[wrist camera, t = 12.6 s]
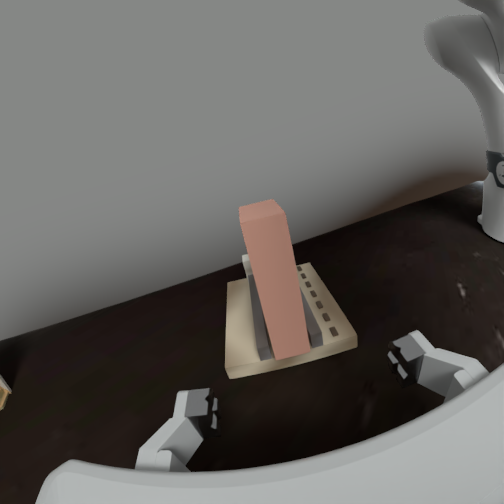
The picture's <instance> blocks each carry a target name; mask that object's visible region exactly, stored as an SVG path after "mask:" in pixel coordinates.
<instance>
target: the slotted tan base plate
mask: <svg viewBox="0 0 504 504" xmlns="http://www.w3.org/2000/svg"><path fill="white" fill-rule="evenodd" d="M242 259H243V265H244V268H245V272H246V276H247V278H245V279H241V280H237V281H233V282H228V289H227V316H226V347H225V369H226V372H227V374H228V376H229V379H233V378H239V377H244V376H249V375H254V374H259V373H264V372H269V371H273V370H277V369H282V368H286V367H290V366H294V365H298V364H302V363H305V362H309V361H313V360H316V359H320V358H323V357H327V356H330V355H333V354H337V353H340V352H343V351H346V350H349V349H352V348H355V347H357V334H356V332H355V331H354V329H353V328H352V326H351V324H350V323H349V321H348V320H347V318H346V317H345V315H344V314H343V312H342V310H341V309H340V307H339V306H338V304H337V303H336V301H335V300H334V298H333V297H332V295H331V294H330V292H329V291H328V289H327V288H326V286H325V285H324V283H323V282H322V280H321V279H320V277H319V276H318V274H317V273H316V271H315V270H314V268H313V267H312V266H311V264H310V263H306V264H302V265H298V266H296V269H297V275H298V280H299V286H300V291H301V297H302V303H303V309H304V315H305V321H306V327H307V333H308V339H309V346H310V352H308V353H305V354H301V355H297V356H293V357H289V358H285V359H281V360H277V361H276V359H275V356H274V352H273V348H272V344H271V340H270V337H269V333H268V329H267V325H266V321H265V317H264V314H263V310H262V306H261V302H260V298H259V294H258V291H257V287H256V283H255V279H254V275H253V271H252V267H251V263H250V260H249V256H248V254H246V255H242Z"/></svg>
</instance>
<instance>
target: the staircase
mask: <svg viewBox="0 0 504 504" xmlns="http://www.w3.org/2000/svg"><path fill="white" fill-rule="evenodd" d="M11 391H12V390H11V389H10V387H9V386H8V385H7V383H6V382H5V381H4V379H3V378H2V376H1V375H0V410H1V409H3V408H4V407H5V404H6V401H7V399H8V396H9V394H10V393H11Z"/></svg>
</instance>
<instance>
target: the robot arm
mask: <svg viewBox="0 0 504 504" xmlns="http://www.w3.org/2000/svg"><path fill="white" fill-rule="evenodd" d="M459 1H460V2H462V3H464V4H466V5H468V6H470V7H472V8H475V9H477V10H479V11H481V12H483V14H482V15H457V16H445V17H442V18H438V19H435V20H432V21H429V22H427V24H426V26H425V30H424V40H425V44H426V47H427V49H428V52H429V53H430V55H431V56H432V58H433V59H434V60H435V61H436V62H437V63H438V64H439V65H440V66H441V67H442V68H444V69H445V70H447V71H449V72H450V73H452V74H453V75H455V76H456V77H457V78H459V79H460V80H461V81H462V82H463V83H464V84H465V85H466V86H467V88H468V89H469V90H470V92H471V93H472V95H473V96H474V98H475V100H476V102H477V104H478V106H479V109H480V112H481V116H482V119H483V123H484V128H485V133H486V139H487V146H488V150H487V151H486V156H487V158H486V162H487V169H488V171H489V175H488V177H487V178H486V179H485V180H484V187H483V208H482V214H481V215H479V216H478V219H477V221H478V222H479V223H480V224H481V225H482V227H483V230H484V232H485V233H486V234H488V235H489V236H490V237H492V238H494V239H496V240H498V241H501V242H504V85H503V84H502V82H501V81H500V79H499V77H498V76H497V74H498V73H499V74H504V0H459ZM388 348H389V350H390V352H389V354H388V355H387V362H388V366H389V369H390V370H391V372H392V373H393V374H396V375H397V377H396V380H397V381H398V383H399V384H400V386H401V388H405V387H407V386H409V385H412V384H414V383H416V382H417V383H419V384H421V385H423V386H425V387H427V388H429V389H431V390H433V391H435V392H437V393H438V394H440V395H442V396H444V397H446V398H445V400H444V402H443V404H442V405H440V406H439V407H437V408H435V409H433V410H431V411H429V412H428V413H426V414H424V415H422V416H420V417H418V418H416V419H414V420H412V421H410V422H407V423H405V424H403V425H401V426H399V427H396V428H394V429H392V430H389V431H387V432H385V433H382V434H380V435H377V436H375V437H372V438H369V439H367V440H364V441H361V442H358V443H356V444H353V445H350V446H347V447H343V448H340V449H337V450H334V451H330V452H327V453H323V454H319V455H316V456H312V457H308V458H303V459H299V460H294V461H290V462H285V463H279V464H274V465H268V466H261V467H254V468H246V469H237V470H226V471H210V472H191V471H190V470H189V469H188V468H187V467H186V466H185V465H186V464H187V463H188V461H189V460H190V458H191V457H192V455H193V454H194V452H195V451H196V450H197V448H198V447H199V445H200V444H201V442H202V441H203V439H205V438H214V437H221V424H220V422H219V420H220V419H221V407H220V404H219V402H218V400H217V399H216V398H214V392H213V390H212V388H207V389H197V390H189V391H179V392H178V394H177V398H176V404H175V409H174V414H173V418H170V419H169V420H168V421H167V422H166V423H165V424H164V425H163V426H162V427H161V428H160V429H159V430H158V431H157V432H156V433H155V434H154V435H153V436H152V437H151V438H150V439H149V440H148V441H147V442H146V443H145V444H144V445H143V446H142V447H141V448H140V449H139V453H138V457H137V462H136V466H135V470H134V469H125V468H118V467H111V466H105V465H99V464H94V463H89V462H84V461H80V460H74V459H72V460H69V461H67V462H65V463H64V464H62V465H61V466H59V467H58V468H56V469H55V470H54V471H52V472H51V473H50V474H49V475H48V476H47V478H46V480H45V481H44V483H43V486H42V488H41V490H40V493H39V495H38V498H37V500H36V503H35V504H504V363H503V364H501V365H500V366H499V367H498V368H496V369H495V370H494V371H492V372H491V373H489V372H488V371H487V370H486V369H485V368H484V367H483V366H482V365H481V364H480V362H479V361H478V360H477V359H474V358H470V357H467V356H463V355H460V354H456V353H453V352H450V351H446V350H443V349H440V348H437V349H435V348H434V347H433V346H432V345H431V344H430V343H429V341H428V340H427V339H426V338H425V337H424V336H423V335H422V334H421V333H420V332H419V331H418V330H416V331H414V332H411V333H409V334H407V335H404V336H402V337H399V338H397V339H395V340H392V341H390V342H389V345H388Z"/></svg>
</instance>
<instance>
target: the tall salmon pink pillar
mask: <svg viewBox="0 0 504 504" xmlns="http://www.w3.org/2000/svg"><path fill="white" fill-rule="evenodd" d="M239 216H240V224H241V228H242V232H243V236H244V240H245V244H246V248H247V252H248V256H249V260H250V263H251V267H252V271H253V275H254V279H255V283H256V287H257V291H258V294H259V298H260V302H261V306H262V310H263V314H264V317H265V321H266V325H267V329H268V333H269V337H270V340H271V344H272V348H273V352H274V356H275V359H276V361H277V360H281V359H285V358H289V357H293V356H297V355H301V354H305V353H308V352H310V346H309V339H308V333H307V327H306V321H305V315H304V309H303V303H302V297H301V291H300V286H299V280H298V275H297V269H296V264H295V259H294V254H293V248H292V243H291V238H290V233H289V229H288V223H287V219H286V214H285V212H284V211H283V209H282V208H281V207H280V206H279V205H278V204H277V203H276V202H275V201H274V200H273V199H271V200H266V201H262V202H258V203H254V204H250V205H246V206H241V207H239Z"/></svg>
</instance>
